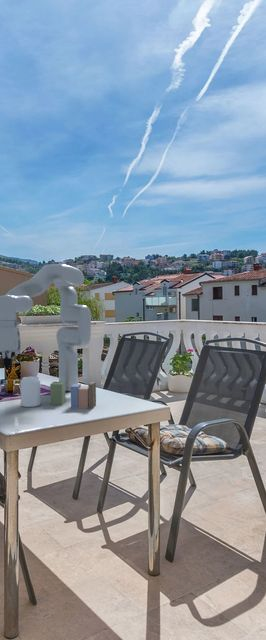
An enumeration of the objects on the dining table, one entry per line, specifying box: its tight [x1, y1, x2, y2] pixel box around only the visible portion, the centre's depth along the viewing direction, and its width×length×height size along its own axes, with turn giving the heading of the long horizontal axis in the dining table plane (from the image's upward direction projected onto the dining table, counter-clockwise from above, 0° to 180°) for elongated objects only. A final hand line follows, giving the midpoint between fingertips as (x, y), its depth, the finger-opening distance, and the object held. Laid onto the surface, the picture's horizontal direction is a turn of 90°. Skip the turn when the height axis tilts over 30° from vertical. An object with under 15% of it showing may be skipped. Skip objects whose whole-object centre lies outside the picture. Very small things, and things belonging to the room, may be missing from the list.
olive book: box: [49, 381, 66, 406], centre depth 220 cm, size 6×5×9 cm
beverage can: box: [20, 376, 41, 408], centre depth 215 cm, size 8×8×12 cm
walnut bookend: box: [87, 381, 97, 409], centre depth 213 cm, size 7×2×10 cm, turn 175°
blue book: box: [70, 383, 82, 409], centre depth 214 cm, size 6×3×9 cm, turn 175°
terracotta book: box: [77, 385, 90, 409], centre depth 213 cm, size 6×4×8 cm, turn 175°
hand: (7, 367), depth 215 cm, fingers closed
